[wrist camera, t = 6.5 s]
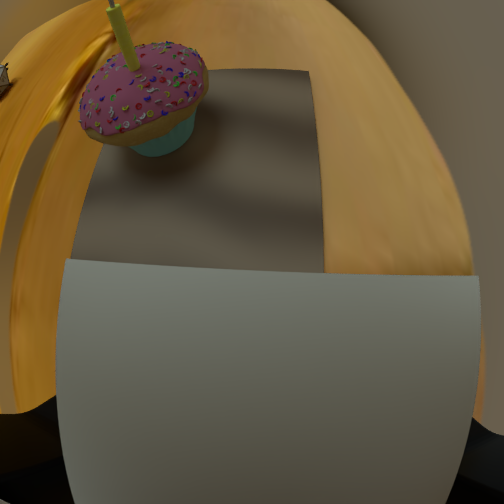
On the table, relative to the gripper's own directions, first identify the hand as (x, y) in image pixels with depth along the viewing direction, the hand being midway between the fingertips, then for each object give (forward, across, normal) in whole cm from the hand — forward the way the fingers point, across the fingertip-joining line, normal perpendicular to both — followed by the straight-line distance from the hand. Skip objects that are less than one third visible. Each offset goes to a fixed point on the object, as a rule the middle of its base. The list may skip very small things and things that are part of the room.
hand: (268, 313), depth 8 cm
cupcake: (+13, +8, -4) cm, 16 cm away
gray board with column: (+10, +5, 0) cm, 11 cm away
